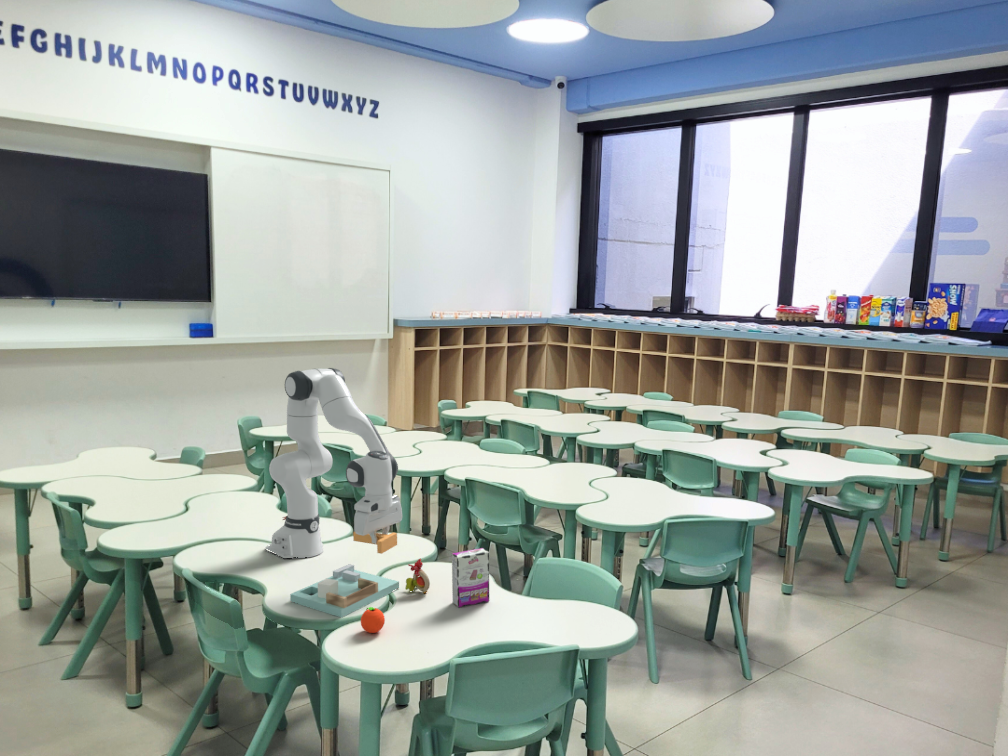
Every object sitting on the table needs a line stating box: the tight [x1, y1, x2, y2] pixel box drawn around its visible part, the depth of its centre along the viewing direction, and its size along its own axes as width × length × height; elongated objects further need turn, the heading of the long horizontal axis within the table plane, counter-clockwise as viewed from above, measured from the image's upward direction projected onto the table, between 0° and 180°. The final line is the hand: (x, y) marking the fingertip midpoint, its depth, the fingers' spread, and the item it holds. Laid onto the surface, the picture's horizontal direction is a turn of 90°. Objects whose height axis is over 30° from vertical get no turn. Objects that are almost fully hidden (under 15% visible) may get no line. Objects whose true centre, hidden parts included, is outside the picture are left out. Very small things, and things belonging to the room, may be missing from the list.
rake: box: [352, 531, 398, 555], centre depth 253 cm, size 16×9×4 cm, turn 66°
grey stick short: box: [332, 563, 355, 579], centre depth 261 cm, size 2×8×2 cm, turn 148°
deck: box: [289, 569, 400, 618], centre depth 250 cm, size 22×27×2 cm
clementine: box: [360, 606, 386, 634], centre depth 223 cm, size 8×7×7 cm
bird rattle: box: [405, 558, 431, 594], centre depth 253 cm, size 6×11×9 cm
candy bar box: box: [451, 547, 490, 608], centre depth 244 cm, size 11×5×16 cm, turn 117°
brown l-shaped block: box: [326, 578, 378, 608], centre depth 242 cm, size 8×15×3 cm, turn 148°
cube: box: [318, 577, 338, 599], centre depth 243 cm, size 4×4×4 cm
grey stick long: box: [342, 570, 360, 582], centre depth 257 cm, size 6×2×2 cm, turn 58°
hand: (379, 541), depth 256 cm, fingers closed on rake, 3 cm apart
